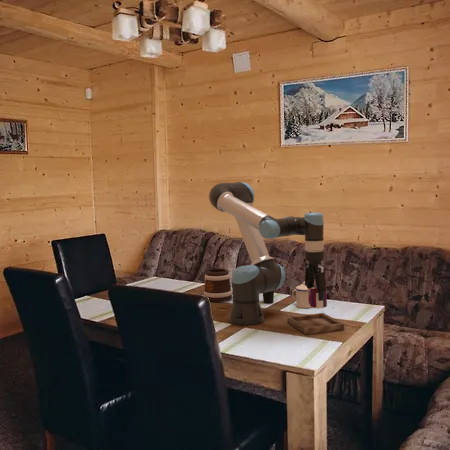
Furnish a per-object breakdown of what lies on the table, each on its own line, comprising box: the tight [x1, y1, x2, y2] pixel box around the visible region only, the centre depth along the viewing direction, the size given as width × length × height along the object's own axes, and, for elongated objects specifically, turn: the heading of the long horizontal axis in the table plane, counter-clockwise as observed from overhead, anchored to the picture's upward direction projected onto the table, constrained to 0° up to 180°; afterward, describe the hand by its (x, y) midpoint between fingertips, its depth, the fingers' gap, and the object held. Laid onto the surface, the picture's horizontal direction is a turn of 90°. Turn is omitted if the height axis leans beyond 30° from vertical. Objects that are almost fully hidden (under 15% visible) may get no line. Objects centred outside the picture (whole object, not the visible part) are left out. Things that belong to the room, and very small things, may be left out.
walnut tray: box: [286, 312, 345, 336], centre depth 207 cm, size 17×18×2 cm
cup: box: [309, 287, 328, 309], centre depth 204 cm, size 7×10×7 cm
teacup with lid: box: [291, 281, 313, 309], centre depth 239 cm, size 12×9×12 cm
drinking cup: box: [262, 290, 275, 305], centre depth 247 cm, size 8×8×20 cm
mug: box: [203, 268, 233, 303], centre depth 259 cm, size 20×15×15 cm
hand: (315, 305), depth 205 cm, fingers closed on cup, 7 cm apart
